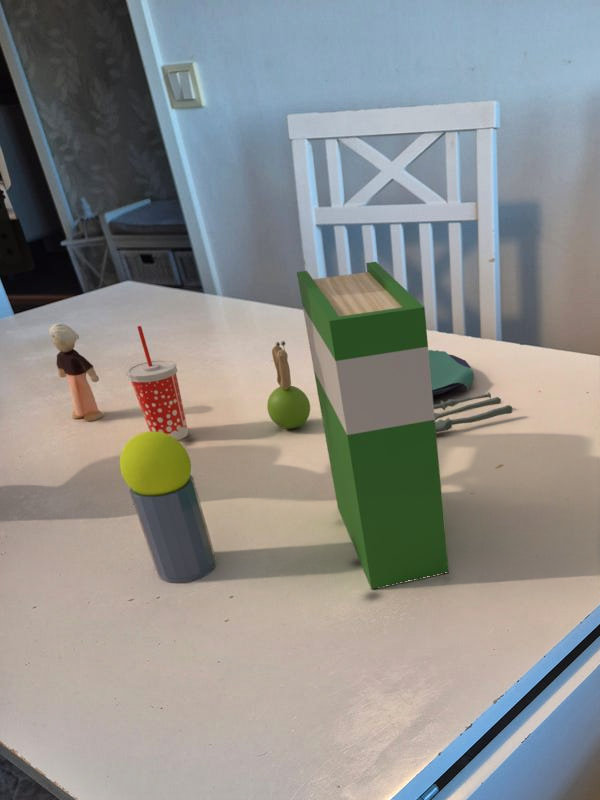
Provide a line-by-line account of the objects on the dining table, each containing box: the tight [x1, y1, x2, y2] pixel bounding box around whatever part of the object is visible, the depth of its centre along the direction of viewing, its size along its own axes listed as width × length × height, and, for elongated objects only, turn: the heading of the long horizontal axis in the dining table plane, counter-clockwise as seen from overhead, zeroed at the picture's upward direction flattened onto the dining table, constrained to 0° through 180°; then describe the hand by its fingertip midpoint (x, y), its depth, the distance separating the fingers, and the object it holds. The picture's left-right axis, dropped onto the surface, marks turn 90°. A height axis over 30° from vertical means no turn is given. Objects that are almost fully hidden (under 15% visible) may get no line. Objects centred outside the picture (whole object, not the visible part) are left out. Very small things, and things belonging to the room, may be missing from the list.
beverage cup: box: [125, 325, 189, 441], centre depth 106 cm, size 6×6×14 cm
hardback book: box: [296, 261, 450, 590], centre depth 78 cm, size 18×7×24 cm, turn 18°
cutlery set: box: [428, 349, 513, 434], centre depth 116 cm, size 20×30×2 cm, turn 25°
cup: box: [129, 474, 217, 584], centre depth 79 cm, size 6×6×9 cm
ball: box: [119, 431, 192, 496], centre depth 76 cm, size 6×6×6 cm
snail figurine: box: [266, 340, 311, 430], centre depth 106 cm, size 5×6×12 cm
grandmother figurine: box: [48, 323, 104, 422], centre depth 114 cm, size 8×4×13 cm, turn 72°
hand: (9, 262), depth 76 cm, fingers open, 9 cm apart
